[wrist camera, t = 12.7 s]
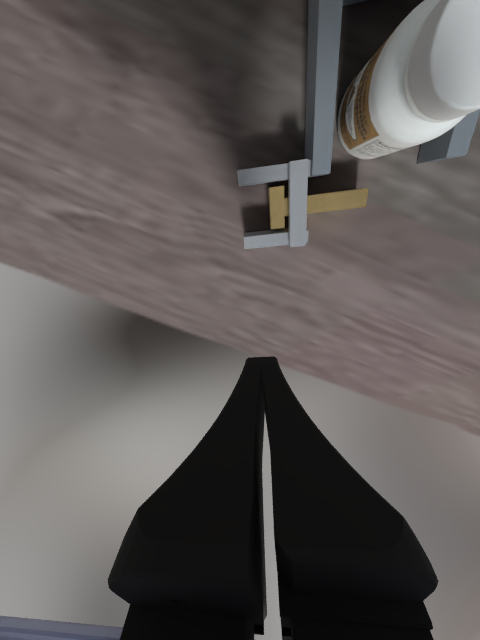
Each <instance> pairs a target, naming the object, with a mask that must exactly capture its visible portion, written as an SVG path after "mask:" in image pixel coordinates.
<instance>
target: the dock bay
mask: <svg viewBox="0 0 480 640" xmlns="http://www.w3.org/2000/svg"><path fill="white" fill-rule="evenodd" d="M365 1H369V0H309V2H308V42H307V82H306V123H305V159H303V160H296V161H290V162H289V163H285V164H278V165H271V166H264V167H257V168H250V169H243V170H237V176H238V186H240V187H243V186H250V185H258V184H265V183H273V182H281V181H288V224H289V228H283V229H274V230H265V231H256V232H246V233H245V234H244V247H245V249H251V248H261V247H271V246H281V245H289V246H290V247H297V246H306V243H308V230H307V229H306V220H307V189H308V178H311V177H318V176H323V175H326V174H330V171H331V157H332V143H333V130H334V116H335V102H336V88H337V75H338V61H339V47H340V33H341V20H342V6H346V5H350V4H355V3H360V2H365ZM479 113H480V109H478V110H476V111H474V112H471V113H469V114H467V115H466V116H465V117H464V118H463V119H462V120H461V121H460V122H459V123H457V124H456V125H455V126H454V127H453V128H451V129H450V130H448V131H447V132H445V133H444V134H442V135H440V136H439V137H437V138H435V139H433V140H430V141H428V142H425V143H422V144H421V147H420V152H419V156H418V160H417V163H425V162H432V161H438V160H443V159H449V158H454V157H460V156H465V155H467V152H468V149H469V145H470V142H471V139H472V136H473V133H474V129H475V126H476V123H477V120H478V117H479Z"/></svg>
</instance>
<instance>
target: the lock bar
mask: <svg viewBox="0 0 480 640" xmlns="http://www.w3.org/2000/svg"><path fill="white" fill-rule="evenodd" d="M368 189H369V188H364V189H352V190H344V191H335V192H327V193H319V194H311V195H307V213H316V212H325V211H334V210H342V209H351V208H360V207H366V203H367V196H368ZM268 201H269V224H270V228H271V229H277V228H285V218H284V216H288V197H287V198H284V186H278V187H270V188H268Z"/></svg>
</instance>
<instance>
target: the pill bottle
mask: <svg viewBox="0 0 480 640" xmlns="http://www.w3.org/2000/svg"><path fill="white" fill-rule="evenodd" d="M478 109H480V0H424V1H423V2H421V3H420V4H419V5H418V6H417V7H415V8H414V9H413V10H412V11H411V12H410V13H409V15H408V16H407V17H406V18H405V19H404V20H403V21H402V22H401V23H400V24H399V26H398V27H397V28H396V29H395V30H394V32H393V33H392V34H391V35H390V36H389V37H388V39H387V40H386V41H385V42H384V43H383V44H382V45H381V47H380V48H379V49H378V50H377V52H376V53H375V54H374V55H373V56H372V58H371V59H370V60H369V61H368V62H367V64H366V65H365V66H364V67H363V69H362V70H361V71H360V72H359V74H358V75H357V76H356V77H355V78H354V79H353V81H352V82H351V84H350V85H349V87H348V88H347V90H346V92H345V94H344V97H343V99H342V102H341V105H340V109H339V113H338V134H339V138H340V141H341V143H342V145H343V147H344V148H345V150H346V151H347V152H348V153H349V154H351V155H352V156H354V157H357V158H360V159H372V158H376V157H380V156H384V155H387V154H390V153H393V152H396V151H399V150H403V149H406V148H409V147H412V146H416V145H419V144H422V143H425V142H428V141H430V140H433V139H435V138H437V137H439V136H440V135H442V134H444V133H445V132H447V131H448V130H450V129H451V128H453V127H454V126H455V125H456V124H457V123H459V122H460V121H461V120H462V119H463V118H464V117H465V116H466V115H467V114H469V113H471V112H474V111H476V110H478Z"/></svg>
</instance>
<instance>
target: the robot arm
mask: <svg viewBox="0 0 480 640" xmlns="http://www.w3.org/2000/svg"><path fill="white" fill-rule="evenodd" d="M264 414H265V415H266V423H267V430H268V437H269V444H270V453H271V474H272V493H273V494H272V495H273V517H274V539H275V550H276V561H277V572H278V588H279V589H278V590H279V608H280V617H281V627H282V639H283V640H433V637H432V635H431V632H430V630H431V629H433V626H432V622H431V620H430V617H429V615H428V612H427V610H426V607H425V605H424V603H423V600H424V599H426V598H427V597H428V596H429V595H430V594H431V593H432V592H434V590H435V589H436V587H437V584H438V579H437V577H436V574H435V572H434V570H433V568H432V565H431V563H430V561H429V559H428V557H427V555H426V553H425V552H424V550H423V548H422V546H421V545H420V543H419V541H418V540H417V538H416V536H415V534H414V533H413V531H412V529H411V528H410V526H409V525H408V523H407V521H406V520H405V519H404V517H403V516H402V515H401V514H400V513H399V512H398V511H397V510H396V509H395V508H394V507H392V506H391V505H390V504H389V503H388V502H387V501H386V500H385V499H384V498H383V497H382V496H381V495H380V494H379V493H378V492H377V491H375V490H374V489H373V488H372V487H371V486H370V485H369V484H368V483H367V482H366V481H365V480H364V479H363V478H362V477H361V476H360V475H359V474H358V473H357V472H356V471H355V470H354V469H353V468H352V467H351V465H350V464H349V463H348V462H347V461H346V460H345V459H344V458H343V457H342V456H341V454H340V453H339V452H338V451H337V450H336V449H335V448H334V447H333V446H332V445H331V443H330V442H329V441H328V440H327V439H326V438H325V436H324V435H323V434H322V433H321V431H320V430H319V429H318V428H317V426H316V425H315V424H314V423H313V421H312V420H311V419H310V417H309V416H308V415H307V413H306V412H305V410H304V409H303V407H302V406H301V404H300V403H299V401H298V400H297V398H296V397H295V395H294V393H293V392H292V390H291V388H290V387H289V385H288V383H287V381H286V379H285V378H284V375H283V373H282V371H281V369H280V367H279V364H278V361H277V358H276V357H254V358H248V359H246V362H245V365H244V368H243V371H242V373H241V375H240V378H239V380H238V382H237V384H236V386H235V388H234V390H233V392H232V394H231V396H230V398H229V399H228V401H227V403H226V405H225V406H224V408H223V410H222V411H221V413H220V414H219V416H218V418H217V419H216V421H215V422H214V423H213V425H212V426H211V428H210V429H209V431H208V432H207V433H206V434H205V436H204V437H203V439H202V440H201V441H200V442H199V444H198V445H197V446H196V448H195V449H194V450H193V451H192V453H191V454H190V455H189V456H188V457H187V458H186V459H185V460H184V461H183V463H182V464H181V465H180V466H179V467H178V468H177V469H176V471H175V472H174V473H173V474H172V475H171V476H170V477H169V478H168V479H167V480H166V481H165V482H164V483H163V484H162V485H161V486H160V487H159V488H158V489H157V490H156V491H155V492H154V493H153V494H152V495H151V496H150V497H149V498H148V499H147V500H146V501H145V502H144V503H143V504H142V505H141V506H140V507H139V508H138V510H137V512H136V514H135V516H134V518H133V520H132V522H131V524H130V526H129V528H128V530H127V532H126V535H125V537H124V539H123V541H122V544H121V547H120V549H119V552H118V555H117V557H116V560H115V562H114V565H113V568H112V570H111V573H110V575H109V578H108V585H109V588H110V589H111V590H112V591H113V592H114V593H115V594H116V595H118V596H119V597H121V598H122V599H124V600H125V601H126V602H128V603H129V604H130V607H129V611H128V614H127V617H126V620H125V624H124V627H113V626H101V625H92V624H81V623H71V622H59V621H50V620H39V619H28V618H18V617H7V616H0V640H254V634H259V635H264V619H265V618H266V616H267V604H266V578H265V549H264V523H263V487H262V452H263V434H264Z"/></svg>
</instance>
